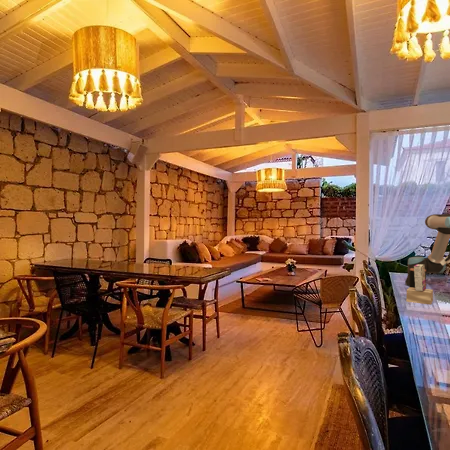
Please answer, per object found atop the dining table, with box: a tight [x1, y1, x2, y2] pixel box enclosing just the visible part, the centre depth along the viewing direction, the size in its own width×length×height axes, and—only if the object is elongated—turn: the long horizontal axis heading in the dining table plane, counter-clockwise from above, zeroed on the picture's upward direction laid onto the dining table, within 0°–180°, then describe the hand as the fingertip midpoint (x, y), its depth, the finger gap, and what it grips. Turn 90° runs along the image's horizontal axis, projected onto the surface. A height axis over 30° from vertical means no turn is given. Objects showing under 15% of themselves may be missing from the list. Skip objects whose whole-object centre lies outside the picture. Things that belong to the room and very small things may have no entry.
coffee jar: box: [408, 268, 427, 288], centre depth 258 cm, size 11×11×18 cm
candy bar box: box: [414, 264, 427, 291], centre depth 234 cm, size 11×5×16 cm, turn 142°
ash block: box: [405, 286, 434, 306], centre depth 235 cm, size 12×14×8 cm
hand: (443, 262), depth 234 cm, fingers open, 13 cm apart
